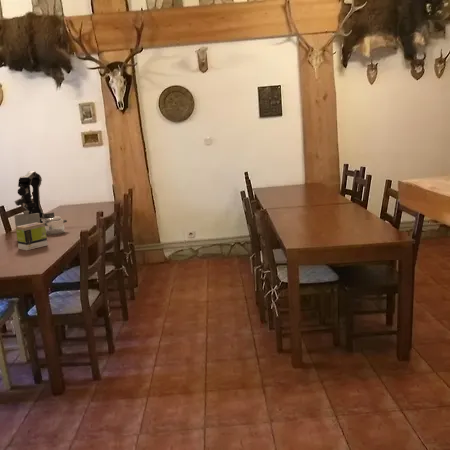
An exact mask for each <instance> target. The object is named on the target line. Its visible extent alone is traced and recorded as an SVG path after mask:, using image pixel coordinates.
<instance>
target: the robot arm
mask: <svg viewBox="0 0 450 450" xmlns="http://www.w3.org/2000/svg"><path fill="white" fill-rule="evenodd" d="M42 181H43V179H42V176H41V175H40V174H39V173H37V172H36V171H35V170H32V171H31V170H30V171H27V173H26V174H25V175H23V176H20V177H19V178H18V182H17V183H18V184H17V187H18V189H17V194H18V196H20V198H18V199H16V200H15V201H13V202H14V203H15V205H16V206H17V207H18V206H22V207H23V208H24V209H25V211H29V214H34V213H39V216H40V223H44V221H42V220H41V219H42V218H43V215H42V214H45V213H44V211H43V209H42V207H41V199H40V197H41V196H40V187H41V185H42ZM31 187H32V193H31Z"/></svg>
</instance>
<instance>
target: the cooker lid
mask: <svg viewBox="0 0 450 450" xmlns="http://www.w3.org/2000/svg"><path fill="white" fill-rule="evenodd" d="M42 215H43V218H42V219H41V220H42V221H43V222H44V221H56V220H60V219H62V217H61V216H56V215H55V212H46V213H44V214H42Z"/></svg>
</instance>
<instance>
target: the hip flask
mask: <svg viewBox="0 0 450 450" xmlns="http://www.w3.org/2000/svg"><path fill="white" fill-rule="evenodd" d="M13 217H14V225H15V228H16V227H17V226H21V225H26V224H31V223H36V222H37V223H40V216H39V213H34V214H29V211H26V210H24V211H23V213H20V214H14V216H13ZM16 235H17V233H16ZM17 242H18V240H17Z"/></svg>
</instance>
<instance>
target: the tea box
mask: <svg viewBox="0 0 450 450" xmlns="http://www.w3.org/2000/svg"><path fill="white" fill-rule="evenodd" d="M15 232H16V233H17V234H16V239H17V240H18V241H17V245H18V246H17V247H18V249H19V250H21V251H22V250H23V251H30V250H34V249H37V248H42V247H46V246H48V245H49V244H48V235H47V234H46V229H45V224H44V222H43V223H37V222H36V223H31V224H26V225H21V226H17V227H16V226H15Z"/></svg>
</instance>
